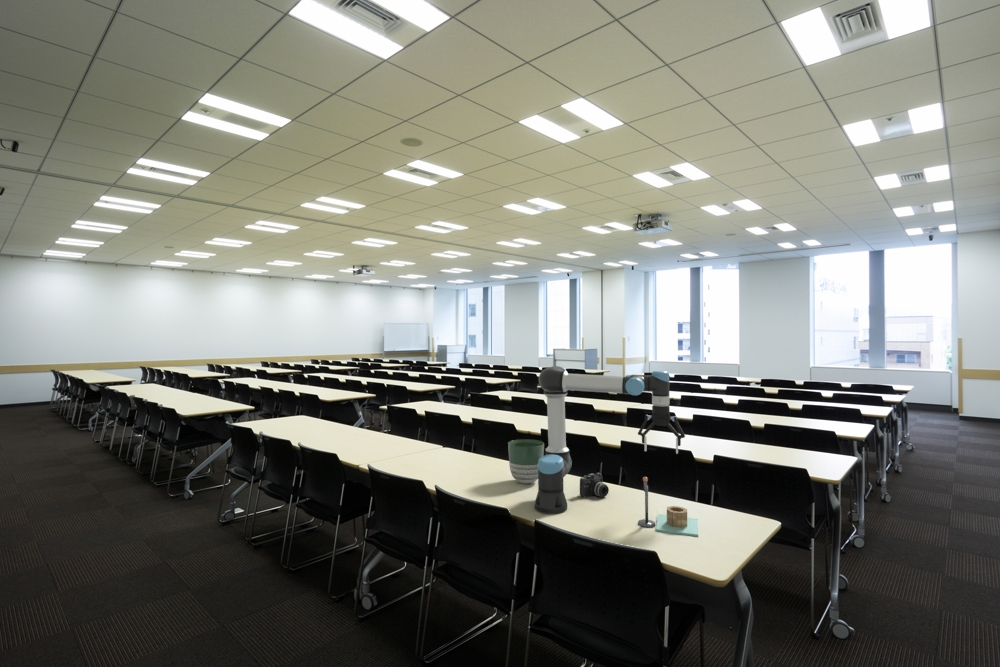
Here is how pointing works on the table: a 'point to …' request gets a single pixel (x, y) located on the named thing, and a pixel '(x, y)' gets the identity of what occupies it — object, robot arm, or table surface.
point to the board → (689, 530)
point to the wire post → (646, 508)
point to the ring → (677, 516)
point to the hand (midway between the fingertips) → (661, 451)
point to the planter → (525, 459)
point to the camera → (593, 485)
